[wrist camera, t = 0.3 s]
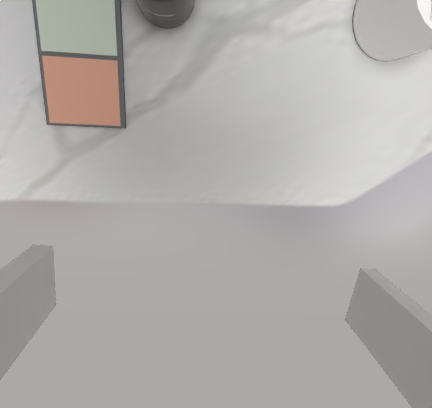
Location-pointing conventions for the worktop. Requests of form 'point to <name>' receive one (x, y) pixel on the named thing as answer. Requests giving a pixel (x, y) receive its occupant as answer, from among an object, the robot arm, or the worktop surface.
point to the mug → (393, 27)
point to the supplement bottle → (166, 11)
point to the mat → (81, 62)
